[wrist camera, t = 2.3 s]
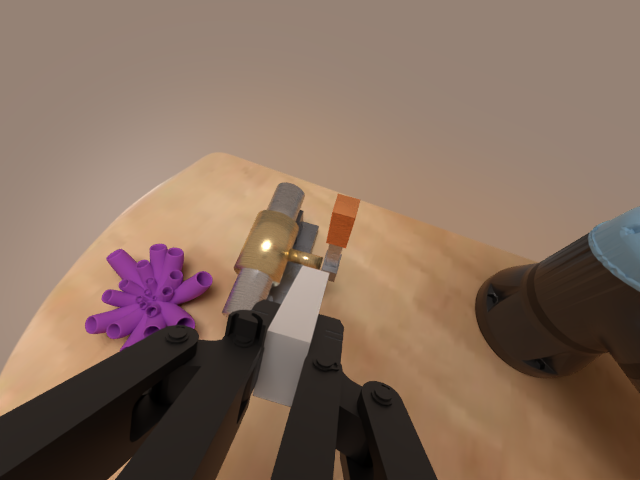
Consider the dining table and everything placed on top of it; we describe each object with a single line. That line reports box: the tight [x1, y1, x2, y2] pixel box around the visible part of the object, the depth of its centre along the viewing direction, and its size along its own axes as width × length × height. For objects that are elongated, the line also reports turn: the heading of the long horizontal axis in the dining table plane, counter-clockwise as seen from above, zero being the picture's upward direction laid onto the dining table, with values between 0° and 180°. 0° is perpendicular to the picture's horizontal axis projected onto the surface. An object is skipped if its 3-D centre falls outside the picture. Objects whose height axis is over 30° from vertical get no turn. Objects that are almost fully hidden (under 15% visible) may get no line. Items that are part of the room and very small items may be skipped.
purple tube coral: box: [85, 244, 212, 351], centre depth 38 cm, size 11×15×10 cm
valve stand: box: [222, 183, 323, 317], centre depth 40 cm, size 18×10×11 cm, turn 165°
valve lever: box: [321, 194, 360, 282], centre depth 33 cm, size 3×2×14 cm
